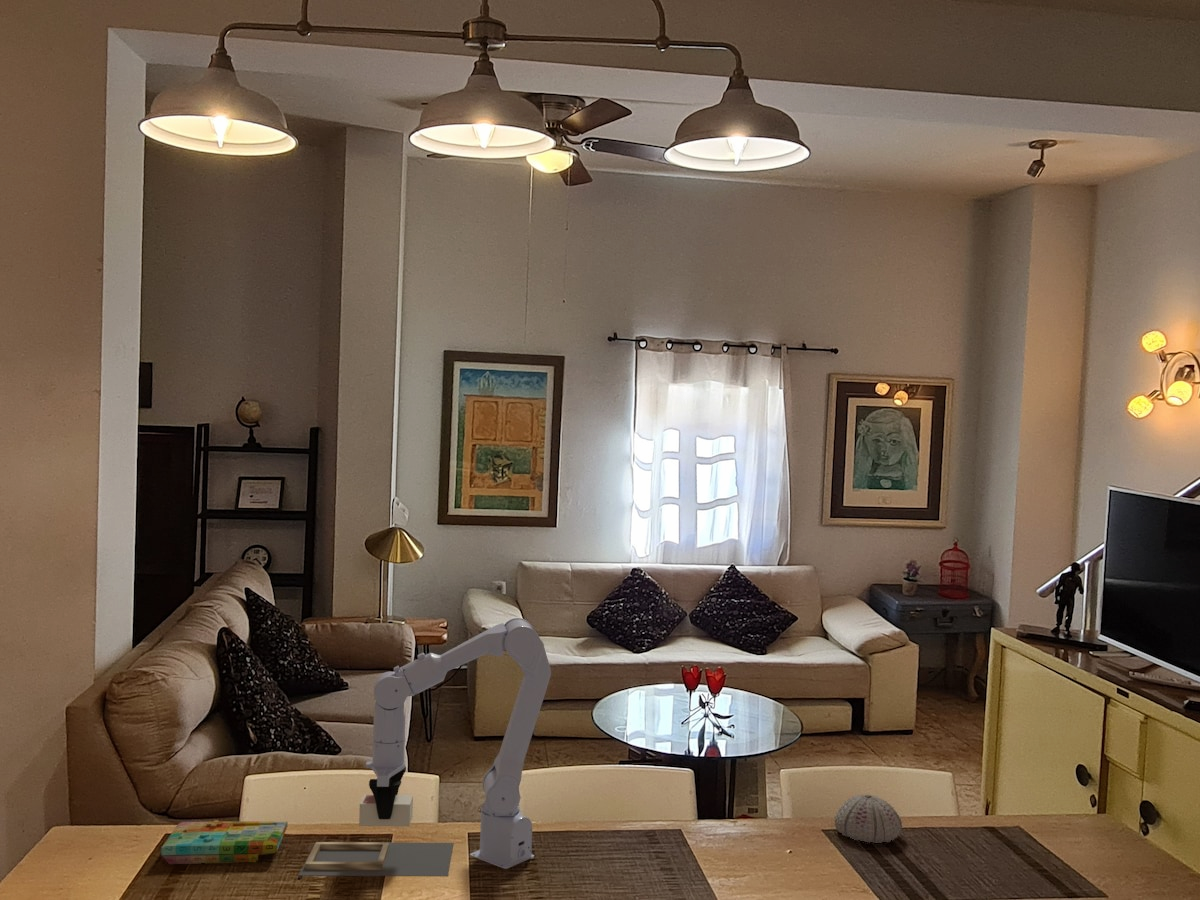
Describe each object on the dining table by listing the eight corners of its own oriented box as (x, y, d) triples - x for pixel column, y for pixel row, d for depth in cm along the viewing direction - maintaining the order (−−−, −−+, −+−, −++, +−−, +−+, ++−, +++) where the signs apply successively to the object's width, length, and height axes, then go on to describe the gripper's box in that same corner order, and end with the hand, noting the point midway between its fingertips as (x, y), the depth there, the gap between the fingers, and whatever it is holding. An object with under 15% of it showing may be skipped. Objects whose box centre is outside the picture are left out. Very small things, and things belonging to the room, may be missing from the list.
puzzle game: (178, 818, 199) (287, 816, 202) (178, 843, 199) (287, 841, 202) (161, 842, 188) (277, 840, 190) (160, 868, 188) (276, 866, 190)
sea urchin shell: (875, 854, 205) (877, 812, 205) (819, 832, 215) (821, 793, 215) (914, 838, 213) (916, 799, 213) (859, 818, 224) (860, 781, 224)
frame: (389, 847, 198) (389, 842, 198) (381, 869, 188) (381, 864, 188) (316, 847, 197) (316, 841, 197) (304, 869, 187) (305, 863, 187)
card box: (412, 816, 196) (413, 794, 196) (409, 826, 191) (410, 804, 191) (363, 816, 195) (364, 794, 195) (359, 826, 190) (359, 803, 190)
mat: (453, 845, 202) (453, 842, 202) (447, 878, 187) (447, 875, 187) (315, 844, 200) (315, 842, 200) (298, 878, 185) (298, 875, 185)
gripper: (372, 727, 200) (370, 798, 200) (360, 750, 186) (358, 827, 186) (410, 728, 200) (408, 799, 201) (401, 751, 186) (398, 827, 186)
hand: (386, 813), depth 193 cm, fingers closed on card box, 5 cm apart
